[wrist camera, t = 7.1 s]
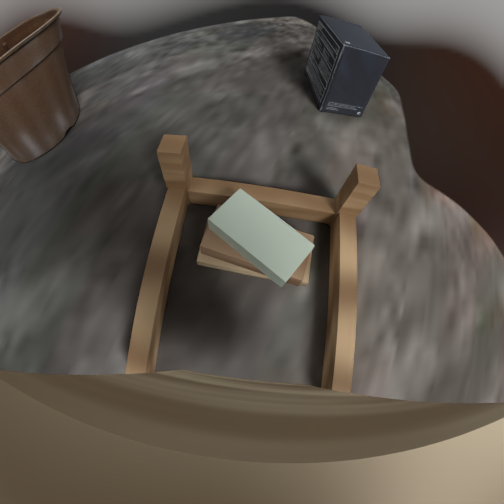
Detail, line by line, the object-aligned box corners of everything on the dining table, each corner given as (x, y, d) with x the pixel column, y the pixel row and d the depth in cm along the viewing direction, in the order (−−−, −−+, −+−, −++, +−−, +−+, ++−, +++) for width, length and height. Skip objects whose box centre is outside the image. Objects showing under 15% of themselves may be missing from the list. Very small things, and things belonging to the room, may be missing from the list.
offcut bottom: (303, 287, 23) (308, 282, 22) (198, 267, 23) (196, 260, 22) (308, 245, 25) (313, 237, 23) (209, 225, 25) (208, 216, 23)
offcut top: (281, 287, 20) (285, 282, 18) (209, 228, 21) (207, 218, 20) (309, 253, 21) (315, 245, 20) (239, 199, 22) (240, 188, 21)
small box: (364, 119, 32) (394, 58, 22) (318, 112, 31) (342, 44, 21) (342, 76, 35) (361, 24, 26) (303, 70, 35) (317, 13, 25)
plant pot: (3, 201, 23) (-67, 119, 8) (1, 136, 27) (-40, 69, 12) (105, 127, 28) (67, 15, 13) (81, 81, 32) (56, 2, 17)
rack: (338, 400, 19) (381, 414, 13) (134, 375, 19) (95, 380, 12) (345, 212, 26) (377, 169, 19) (176, 186, 25) (163, 134, 19)
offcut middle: (297, 286, 22) (302, 280, 20) (201, 253, 22) (199, 245, 21) (309, 244, 23) (314, 236, 22) (218, 213, 23) (218, 204, 22)
